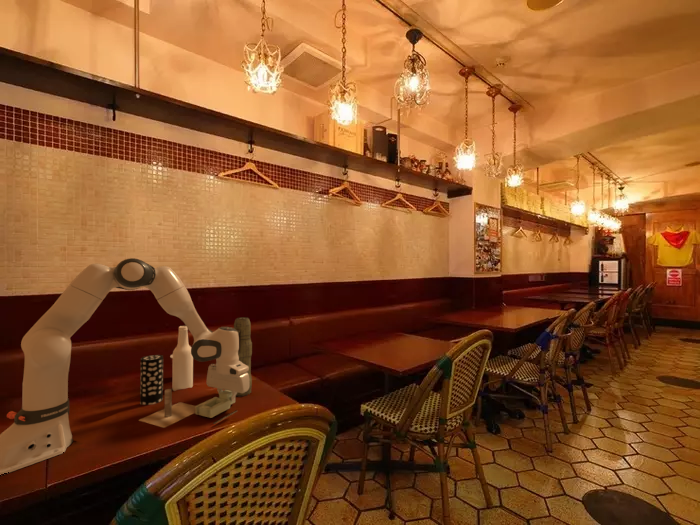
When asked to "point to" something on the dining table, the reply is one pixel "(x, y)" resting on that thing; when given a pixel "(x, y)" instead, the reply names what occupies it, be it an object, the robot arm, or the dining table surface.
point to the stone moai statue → (244, 347)
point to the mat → (225, 417)
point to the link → (215, 405)
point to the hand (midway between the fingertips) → (227, 399)
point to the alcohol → (182, 362)
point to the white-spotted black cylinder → (151, 380)
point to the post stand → (169, 412)
